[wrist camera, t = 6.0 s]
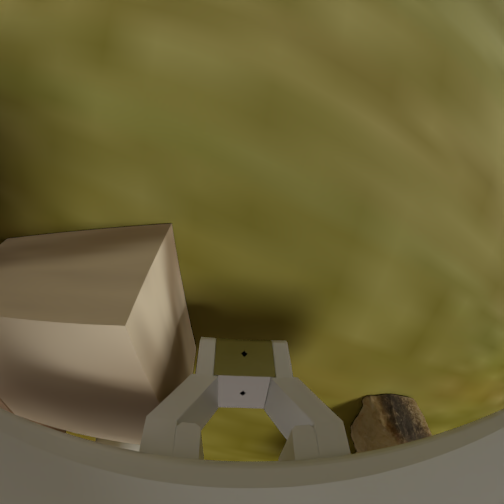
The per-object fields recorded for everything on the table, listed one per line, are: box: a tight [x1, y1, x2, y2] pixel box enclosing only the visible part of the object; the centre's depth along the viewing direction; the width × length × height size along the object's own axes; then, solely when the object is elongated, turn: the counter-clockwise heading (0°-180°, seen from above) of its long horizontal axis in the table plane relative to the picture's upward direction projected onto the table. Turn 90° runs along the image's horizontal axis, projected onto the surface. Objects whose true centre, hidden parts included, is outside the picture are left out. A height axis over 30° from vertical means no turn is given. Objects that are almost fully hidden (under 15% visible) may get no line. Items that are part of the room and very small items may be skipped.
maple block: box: [0, 223, 196, 445], centre depth 9 cm, size 6×8×5 cm
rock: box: [350, 394, 432, 453], centre depth 16 cm, size 11×9×10 cm
